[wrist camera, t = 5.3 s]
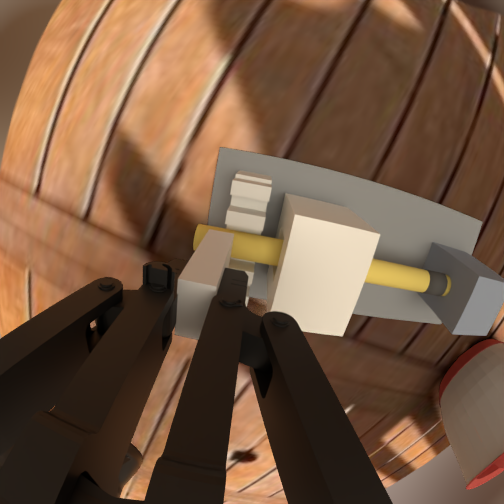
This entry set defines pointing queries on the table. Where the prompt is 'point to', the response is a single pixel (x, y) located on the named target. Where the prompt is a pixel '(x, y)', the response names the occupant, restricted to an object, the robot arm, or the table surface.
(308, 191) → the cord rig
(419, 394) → the table surface
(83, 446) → the robot arm
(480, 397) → the citrus juicer
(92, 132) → the table surface
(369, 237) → the sleeve
